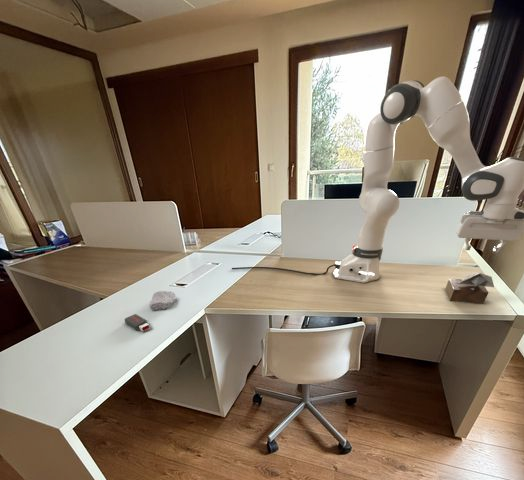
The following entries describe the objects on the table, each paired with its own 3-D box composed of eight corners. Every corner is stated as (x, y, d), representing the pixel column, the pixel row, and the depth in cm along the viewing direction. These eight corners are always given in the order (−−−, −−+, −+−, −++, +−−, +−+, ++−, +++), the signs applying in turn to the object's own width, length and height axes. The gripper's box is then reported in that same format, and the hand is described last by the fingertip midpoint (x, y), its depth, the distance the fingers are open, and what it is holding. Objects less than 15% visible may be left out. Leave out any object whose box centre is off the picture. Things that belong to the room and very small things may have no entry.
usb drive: (137, 318, 117) (135, 312, 116) (152, 327, 111) (150, 321, 109) (125, 323, 114) (123, 317, 113) (140, 333, 108) (138, 327, 106)
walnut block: (449, 300, 118) (454, 289, 115) (445, 289, 127) (449, 278, 124) (483, 304, 114) (488, 292, 111) (476, 291, 123) (481, 280, 120)
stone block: (177, 300, 133) (155, 298, 131) (177, 291, 130) (154, 288, 129) (173, 313, 124) (149, 311, 122) (172, 304, 121) (148, 301, 119)
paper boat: (500, 269, 110) (493, 286, 107) (498, 281, 114) (490, 298, 111) (464, 266, 117) (456, 282, 115) (463, 278, 122) (455, 293, 119)
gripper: (466, 212, 102) (452, 251, 110) (535, 214, 96) (514, 255, 104) (462, 209, 107) (449, 246, 115) (527, 211, 101) (508, 250, 109)
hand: (480, 250), depth 110 cm, fingers open, 8 cm apart
